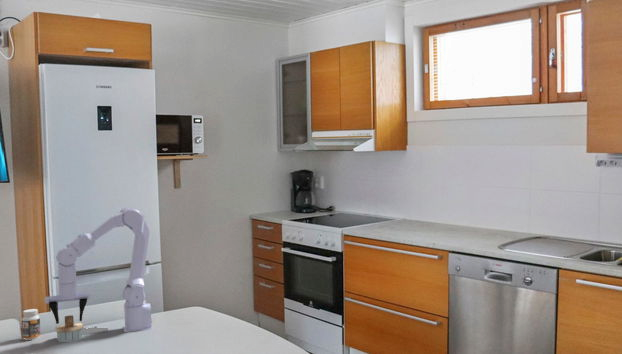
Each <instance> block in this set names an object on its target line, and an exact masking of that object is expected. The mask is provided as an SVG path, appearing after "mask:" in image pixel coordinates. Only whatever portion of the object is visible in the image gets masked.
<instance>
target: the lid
mask: <svg viewBox="0 0 622 354" xmlns="http://www.w3.org/2000/svg"><path fill="white" fill-rule="evenodd" d="M82 328H84V323H81V322H75V321H74V315H71V314H70V315H65V316H64V323H63V324H60V325H57V326H55V328H54V329H55V332H56V333H57V332H72V331H77V330H80V329H82Z"/></svg>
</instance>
